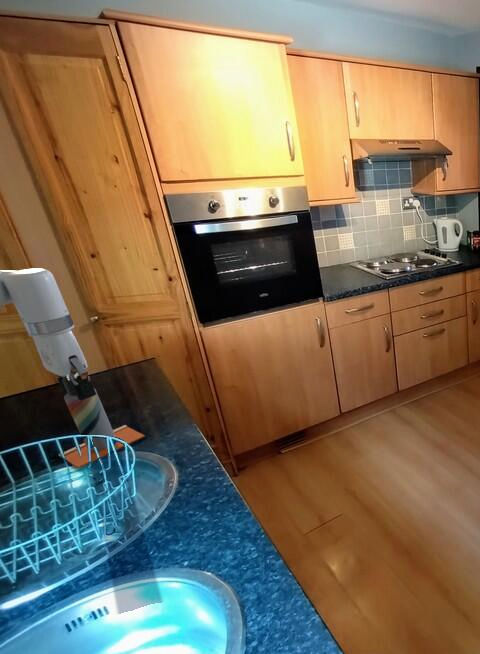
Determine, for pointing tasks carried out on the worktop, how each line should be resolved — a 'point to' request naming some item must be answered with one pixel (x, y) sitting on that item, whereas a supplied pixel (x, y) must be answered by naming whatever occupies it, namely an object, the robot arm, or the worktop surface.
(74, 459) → the orange flat block
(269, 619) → the worktop surface
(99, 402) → the lotion bottle
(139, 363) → the worktop surface
